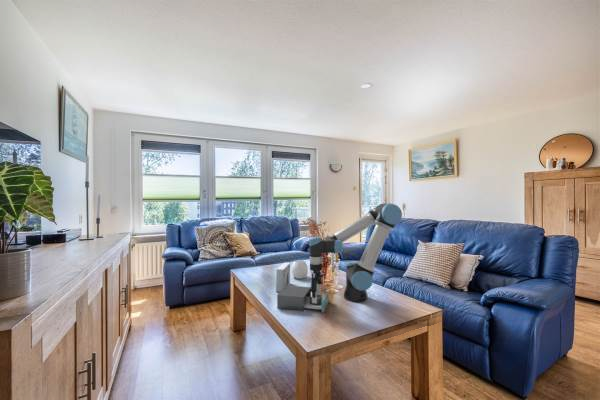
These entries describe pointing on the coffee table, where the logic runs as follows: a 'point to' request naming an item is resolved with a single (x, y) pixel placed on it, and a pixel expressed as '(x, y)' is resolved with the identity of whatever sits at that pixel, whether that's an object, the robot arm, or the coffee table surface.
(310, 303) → the puck
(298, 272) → the cup
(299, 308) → the player housing
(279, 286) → the skincare box
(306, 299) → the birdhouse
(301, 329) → the coffee table surface
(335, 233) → the robot arm
